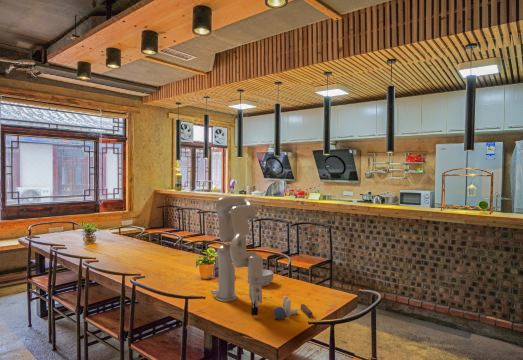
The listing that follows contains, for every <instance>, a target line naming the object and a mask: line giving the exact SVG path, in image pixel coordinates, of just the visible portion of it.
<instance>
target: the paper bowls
mask: <svg viewBox="0 0 523 360" xmlns="http://www.w3.org/2000/svg"><path fill="white" fill-rule="evenodd" d="M262 276H263V278H262V283H261V287H265V286H268V285H270V284H271V282H272V281H274V271H272V270H271V269H269V270H268V269H263V275H262Z"/></svg>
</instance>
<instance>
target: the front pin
mask: <svg viewBox="0 0 523 360" xmlns="http://www.w3.org/2000/svg"><path fill="white" fill-rule="evenodd" d="M298 313H299V312H298V309H291V315H292V316H293V315H298ZM291 315H290V316H291ZM285 316H286V310H285Z"/></svg>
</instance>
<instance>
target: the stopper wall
mask: <svg viewBox="0 0 523 360" xmlns="http://www.w3.org/2000/svg"><path fill="white" fill-rule="evenodd" d="M300 310H301V311H302V312H303V313H304V314H305V315H306V316H307V318H308V319H309V318H313V312H312V310H311V309H309V307H308V306H307V305H305V303H300Z"/></svg>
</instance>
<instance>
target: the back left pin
mask: <svg viewBox="0 0 523 360" xmlns="http://www.w3.org/2000/svg"><path fill="white" fill-rule="evenodd" d="M287 299H289V297H288V296H287V295H283V298H282V308H283V309H284V310H286V300H287Z"/></svg>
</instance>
